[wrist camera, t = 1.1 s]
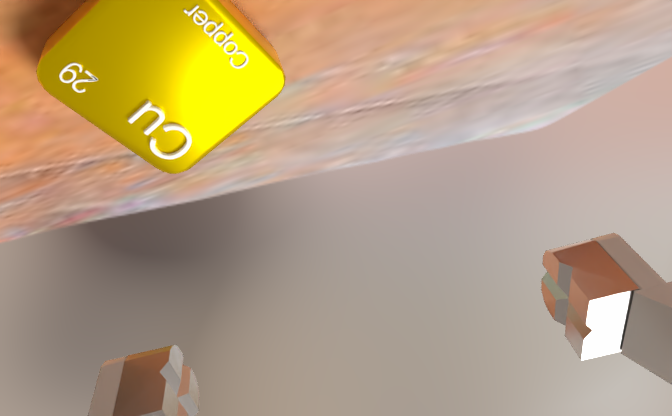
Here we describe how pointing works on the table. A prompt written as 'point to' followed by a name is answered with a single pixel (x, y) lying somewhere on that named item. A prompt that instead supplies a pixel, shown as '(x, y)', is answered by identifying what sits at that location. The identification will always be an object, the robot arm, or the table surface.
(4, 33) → the table surface
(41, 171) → the table surface
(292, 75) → the table surface
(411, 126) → the table surface
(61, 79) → the element tile
